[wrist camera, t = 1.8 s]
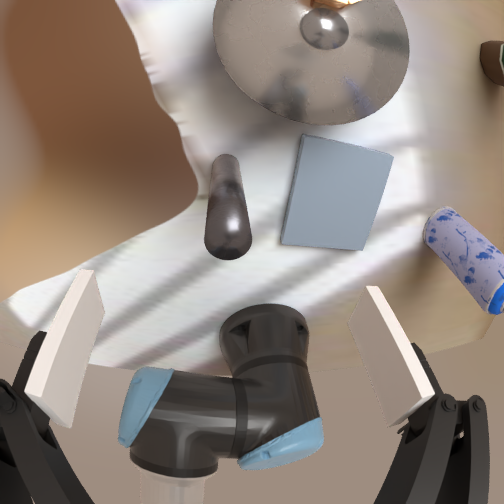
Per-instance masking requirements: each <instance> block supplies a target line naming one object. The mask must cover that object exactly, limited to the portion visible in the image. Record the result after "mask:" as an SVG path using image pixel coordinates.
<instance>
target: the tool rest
mask: <svg viewBox="0 0 504 504" xmlns="http://www.w3.org/2000/svg"><path fill="white" fill-rule="evenodd" d="M393 158H394V157H393V156H391V155H390V154H387V153H383V152H380V151H376V150H372V149H368V148H364V147H361V146H356V145H352V144H348V143H344V142H339V141H335V140H330V139H326V138H321V137H316V136H310V135H305V134H302V138H301V143H300V148H299V153H298V158H297V163H296V168H295V173H294V178H293V183H292V187H291V192H290V197H289V202H288V206H287V211H286V216H285V220H284V225H283V229H282V234H281V238H280V240H281V243H282V244H285V245H298V246H311V247H324V248H336V249H349V250H361V251H363V248H364V246H365V243H366V240H367V238H368V235H369V232H370V230H371V227H372V224H373V221H374V218H375V216H376V213H377V210H378V207H379V204H380V201H381V198H382V195H383V192H384V189H385V185H386V182H387V179H388V176H389V172H390V169H391V165H392V162H393Z"/></svg>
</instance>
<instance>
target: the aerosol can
mask: <svg viewBox="0 0 504 504" xmlns="http://www.w3.org/2000/svg"><path fill="white" fill-rule="evenodd" d="M423 238H424V242H425V243H426V245H427V246H428V247H430V248H432V250H433V251H434V252H435V253H436V254H437V255H438V256H439V257H440V258H441V259H442V260H443V262H444V263H445V264H446V265H447V266H448V267H449V268H450V270H451V271H452V272H453V273H454V274H455V275H456V277H457V278H458V279H459V280H460V281H461V283H462V284H463V285H464V286H465V287H466V289H467V290H468V291H469V292H470V294H471V295H472V296H473V297H474V299H475V300H476V301H477V303H478V304H479V305H480V306H481V308H482V309H483V310H484V311H485V312H486V313H487V314H496V315H498V314H500V313H504V255H503V254H502V253H501V252H500V251H499V250H498V249H497V248H496V247H495V246H494V245H493V244H492V243H491V242H490V241H489V240H487V239H486V238H485V237H484V236H483V235H482V234H481V233H480V232H479V231H477V230H476V229H475V228H474V227H473V226H472V225H471V224H469V223H468V222H467V221H466V220H465V219H463V218H462V217H461V216H460V215H459V214H457V213H456V211H455V210H454V209H453V208H451V207H448V206H444V207H441V208H439V209H438V210H436V211H435V212H434V213H433V214H432V215H431V216H430V217H429V219H428V221H427V223H426V224H425V228H424V231H423Z"/></svg>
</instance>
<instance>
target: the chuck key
mask: <svg viewBox="0 0 504 504" xmlns="http://www.w3.org/2000/svg"><path fill="white" fill-rule="evenodd" d="M204 243H205V246H206V249H207V250H208V252H209V253H210V254H212V255H213V256H214V257H216V258H219V259H222V260H233V259H237V258H240V257H241V256H243V255H244V254H246V253H247V251H248V250H249V249H250V247H251V244H252V234H251V229H250V223H249V217H248V212H247V206H246V201H245V195H244V189H243V184H242V178H241V172H240V167H239V162H238V160H237V159H236V158H235V157H234V156H232V155H229V154H223V155H220V156H218V157H217V158H216V159H215V161H214V163H213V168H212V176H211V183H210V192H209V200H208V209H207V218H206V227H205V237H204Z"/></svg>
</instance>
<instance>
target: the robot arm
mask: <svg viewBox="0 0 504 504" xmlns="http://www.w3.org/2000/svg"><path fill="white" fill-rule="evenodd" d="M104 314H105V311H104V307H103V304H102V300H101V296H100V293H99V289H98V285H97V281H96V277H95V273H94V270H84V269H80V270H79V272H78V274H77V276H76V277H75V279H74V281H73V283H72V284H71V286H70V288H69V290H68V292H67V294H66V296H65V298H64V299H63V301H62V303H61V305H60V307H59V309H58V311H57V313H56V315H55V317H54V320H53V322H52V324H51V326H50V328H49V330H48V332H43V331H39V332H38V333H37V334H36V335H35V336H34V337H33V338H32V339H31V341H30V343H29V346H28V348H27V351H26V353H25V355H24V359H23V360H22V362H21V364H20V367H19V369H18V372H17V374H16V377H15V380H14V382H13V385H12V387H11V386H10V384H9V383H8V382H6V381H5V380H3V379H0V504H33V501H32V498H33V500H34V502H35V504H94V502H93V501H92V499H91V498H90V497H89V495H88V493H87V492H86V490H85V489H84V487H83V486H82V485H81V483H80V481H79V480H78V478H77V476H76V475H75V473H74V471H73V470H72V468H71V466H70V464H69V463H68V461H67V459H66V457H65V455H64V453H63V451H62V450H61V448H60V446H59V444H58V442H57V440H56V438H55V436H54V434H53V431H52V429H51V427H50V426H49V420H50V419H51V420H52V421H53V422H54V423H56V424H58V425H61V426H64V427H68V428H72V423H73V418H74V414H75V410H76V405H77V401H78V397H79V393H80V389H81V385H82V382H83V378H84V375H85V371H86V368H87V364H88V361H89V358H90V355H91V352H92V348H93V345H94V342H95V339H96V336H97V333H98V331H99V328H100V325H101V322H102V319H103V316H104ZM347 324H348V326H349V328H350V331H351V333H352V336H353V338H354V340H355V343H356V345H357V348H358V350H359V353H360V355H361V358H362V360H363V363H364V365H365V368H366V370H367V373H368V376H369V378H370V381H371V383H372V386H373V389H374V392H375V394H376V397H377V400H378V402H379V405H380V408H381V411H382V414H383V416H384V419H385V422H386V425H387V427H391V426H394V425H397V424H400V423H402V422H403V421H404V420H405V419H406V418H408V420H409V422H408V423H407V424H406V425H405V426H403V427H402V428H401V429H399V430H398V432H397V433H398V434H399V433H401V432H402V431H403V430H404V433H403V434H402V439H401V442H400V444H399V447H398V450H397V453H396V455H395V457H394V460H393V462H392V465H391V467H390V470H389V472H388V474H387V477H386V479H385V481H384V483H383V486H382V488H381V490H380V492H379V494H378V496H377V498H376V500H375V502H374V504H487V503H488V492H489V469H490V465H489V464H490V463H489V462H490V456H489V433H488V420H487V411H486V405H485V402H484V400H483V399H482V398H481V397H480V396H478V395H473V396H472V397H470V398H469V399H468V400H467V401H456V400H455V399H454V397H452V396H451V395H449V394H444V393H443V392H442V390H441V388H440V386H439V384H438V382H437V380H436V377H435V375H434V373H433V372H432V369H431V368H430V367H429V364H428V362H427V361H426V358H425V356H424V354H423V352H422V350H421V349H420V348H419V347H418V346H417V345H416V344H415V343H410V342H409V340H408V338H407V336H406V335H405V333H404V331H403V329H402V327H401V325H400V324H399V322H398V320H397V318H396V317H395V315H394V313H393V311H392V310H391V308H390V306H389V304H388V303H387V301H386V299H385V298H384V296H383V294H382V293H381V291H380V289H379V288H378V286H365V288H364V290H363V293H362V295H361V297H360V299H359V301H358V303H357V305H356V307H355V309H354V311H353V313H352V315H351V317H350V319H349V321H348V322H347ZM308 344H309V330H308V327H307V324H306V321H305V318H304V317H303V316H302V314H301V313H299V312H298V311H297V310H295V309H293V308H291V307H288V306H285V305H279V304H261V305H255V306H251V307H248V308H245V309H243V310H240V311H238V312H237V313H235V314H233V315H232V316H231V317H229V318H228V319H227V320H226V322H225V323H224V324H223V326H222V328H221V331H220V347H221V351H222V353H223V355H224V357H225V360H226V362H227V364H228V366H229V368H230V371H231V373H232V376H233V378H229V377H220V376H211V375H203V374H196V373H189V372H183V371H176V370H174V369H172V368H171V369H161V368H154V367H143V368H141V369H139V370H138V371H137V372H136V373H135V374H134V376H133V378H132V380H131V383H130V386H129V389H128V392H127V395H126V398H125V402H124V406H123V410H122V414H121V419H120V424H119V437H118V441H119V443H120V444H121V445H123V446H124V447H126V448H128V447H130V461H131V462H132V463H133V465H135V466H136V467H137V468H138V469H139V470H140V471H141V504H203V501H204V485H205V480H206V479H208V478H210V477H211V476H213V475H214V474H216V472H217V468H218V459H219V458H236V459H238V460H237V463H238V464H239V466H240V468H241V469H244V470H260V469H267V468H272V467H277V466H281V465H285V464H288V463H292V462H295V461H297V460H300V459H303V458H305V457H307V456H309V455H311V454H313V453H314V452H316V451H317V450H319V449H320V448H321V446H322V444H323V441H324V435H323V428H322V418H321V417H320V414H319V410H318V406H317V402H316V399H315V394H314V391H313V387H312V383H311V379H310V376H309V372H308V368H307V364H306V362H307V353H308ZM463 431H464V436H463V437H462V438H460V433H461V432H463ZM31 497H32V498H31Z"/></svg>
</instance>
